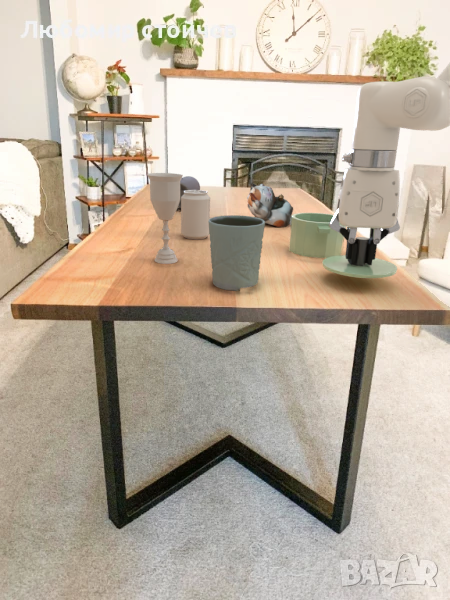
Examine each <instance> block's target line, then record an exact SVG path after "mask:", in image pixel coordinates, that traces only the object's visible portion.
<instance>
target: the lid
mask: <svg viewBox="0 0 450 600" xmlns="http://www.w3.org/2000/svg"><path fill="white" fill-rule="evenodd" d="M369 238H370V237H365V236H356V238H355V240H356V244H357V253H356V261H355V264H354V265H351V264H350V263H349V262H348V259H346V257H345V256H346V254H341V255H340V256H332V257H328V258H323V259H322V263H321V265H322V267H323V269H325V270H326V271H329V272H331V273H334V274H337V275H339V276H340V275H341V276H344V277H350V278H355V279H356V278H357V279H383V278H388V277H389V278H390V277H392V276H394V275H396V274H397V272H398V267H397V265H396V264H395V263H392V262H391V261H388V260H386V259H382V258H377V257H375V260H372V265H368V264H366V259H367V252H368V244H369Z"/></svg>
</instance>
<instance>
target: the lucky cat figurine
mask: <svg viewBox="0 0 450 600" xmlns="http://www.w3.org/2000/svg"><path fill="white" fill-rule="evenodd" d="M246 199H247V208H248V210H249V212H250V213H251V215H252V216H253V217H257V218H260V219H263V220H264V221H265V224H268V225H271V226H273V227H276V228H286V227H288V226H290V224H291V215H293V212H294V206H292V204H291V203H290V202H289V201H288V200H287V199H285V197H284V194H282V193H280V194H279V195H278V196H276V195H275V192H274V190H273V188H272V187H271V186H268V185H265V184H263V183H260V184H259V185H257V184H256V183H253V182H252V183H250V190H249V193H248V194H247V196H246Z"/></svg>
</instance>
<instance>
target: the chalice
mask: <svg viewBox="0 0 450 600" xmlns="http://www.w3.org/2000/svg"><path fill="white" fill-rule="evenodd" d="M146 176H147V177H148V179H149V193H150V194H149V196H150V197H149V198H150V202H151V205H152V208H153V211H154V212H155V214H156V215H157V218H158V219H159V220H161V221H162V223H163V225H162V228H161V231H162V233H163V234H162V237H161V240H163V245H162V246H163V247H161V248H160V249H158V251H157V253H156V254H155V258H154V259H153V260H154V262H155V263H158V264H163V265H170V264H175V263H177V262H178V261H179V259H178V258H177V255H176V254H175V251H174V249H172V248H171V247H170V246H169V241H170V239H171V238H170V237H169V232H170V228H169V221H171V220H173V219H174V217H175V214H176V213H177V210H178V209H179V208H178V205H179V202H180V180H181V178H183V177H184V176H183V174H179V173H171V172H169V173H168V172H151V173H147V175H146Z"/></svg>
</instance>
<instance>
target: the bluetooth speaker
mask: <svg viewBox="0 0 450 600" xmlns="http://www.w3.org/2000/svg"><path fill="white" fill-rule="evenodd" d="M185 190H201V185H200V182H199V180H198V179H197V178H195V177H194V176H182V178H181V180H180V202H179V205H178V208H177V209H181V197H182V196H183V195H184V191H185Z"/></svg>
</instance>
